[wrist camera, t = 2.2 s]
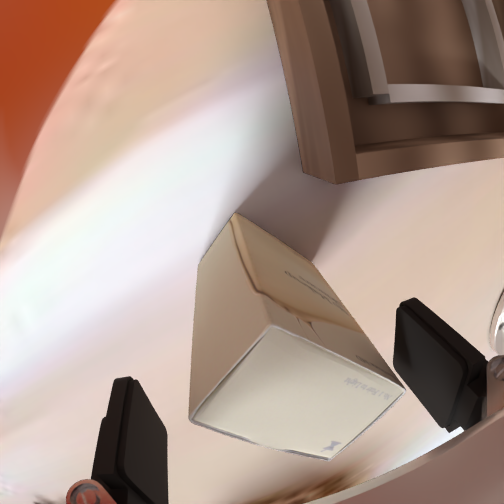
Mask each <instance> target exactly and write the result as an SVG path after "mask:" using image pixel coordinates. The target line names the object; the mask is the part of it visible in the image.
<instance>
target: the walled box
mask: <svg viewBox="0 0 504 504" xmlns="http://www.w3.org/2000/svg"><path fill="white" fill-rule="evenodd" d="M267 4H268V7H269V11H270V15H271V19H272V23H273V27H274V31H275V36H276V40H277V44H278V48H279V53H280V57H281V61H282V66H283V70H284V75H285V80H286V84H287V89H288V94H289V99H290V104H291V109H292V114H293V119H294V124H295V129H296V134H297V140H298V145H299V151H300V157H301V162H302V168H303V173H306V174H309V175H312V176H314V177H317V178H320V179H322V180H325V181H328V182H330V183H333V184H341V183H346V182H352V181H357V180H362V179H368V178H373V177H379V176H385V175H390V174H396V173H402V172H408V171H414V170H420V169H426V168H433V167H439V166H446V165H452V164H459V163H466V162H474V161H481V160H489V159H496V158H504V0H267Z"/></svg>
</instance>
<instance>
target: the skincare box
mask: <svg viewBox="0 0 504 504" xmlns="http://www.w3.org/2000/svg"><path fill="white" fill-rule="evenodd" d="M405 392H406V389H405V388H404V386H403V385H402V383H401V382H400V381H399V379H398V378H397V377H396V375H395V374H394V373H393V371H392V370H391V369H390V367H389V366H388V365H387V363H386V362H385V360H384V359H383V358H382V356H381V355H380V354H379V352H378V351H377V349H376V348H375V347H374V345H373V344H372V342H371V341H370V340H369V338H368V337H367V336H366V334H365V333H364V332H363V330H362V329H361V328H360V326H359V325H358V323H357V322H356V321H355V319H354V318H353V317H352V315H351V314H350V313H349V311H348V310H347V309H346V307H345V306H344V305H343V303H342V302H341V300H340V299H339V298H338V296H337V295H336V294H335V292H334V291H333V290H332V288H331V287H330V286H329V284H328V283H327V282H326V280H325V279H324V278H323V276H322V275H321V274H320V272H319V271H318V270H317V269H316V267H315V266H314V265H313V263H312V262H310V261H309V260H307V259H306V258H304V257H303V256H302V255H300V254H299V253H297V252H296V251H294V250H293V249H292V248H290V247H289V246H287V245H286V244H284V243H283V242H281V241H280V240H278V239H277V238H275V237H274V236H272V235H271V234H269V233H268V232H266V231H265V230H263V229H262V228H260V227H259V226H257V225H255V224H254V223H252V222H251V221H249V220H248V219H246V218H245V217H243V216H242V215H240V214H238V213H234V214H233V216H232V217H231V218H230V220H229V221H228V223H227V224H226V225H225V227H224V228H223V229H222V231H221V232H220V234H219V235H218V236H217V238H216V239H215V241H214V242H213V244H212V245H211V247H210V248H209V250H208V251H207V253H206V254H205V256H204V257H203V259H202V260H201V262H200V263H199V265H198V271H197V283H196V294H195V308H194V323H193V337H192V355H191V375H190V397H189V420H190V422H191V423H193V424H195V425H198V426H201V427H204V428H207V429H210V430H212V431H215V432H218V433H221V434H224V435H227V436H230V437H232V438H236V439H239V440H242V441H246V442H249V443H251V444H254V445H258V446H261V447H265V448H269V449H273V450H277V451H282V452H287V453H291V454H295V455H300V456H305V457H310V458H315V459H320V460H324V461H331V460H332V459H333V458H334V457H336V456H337V455H338V454H339V453H340V452H342V451H343V450H344V449H345V448H347V447H348V446H349V445H350V444H351V443H353V442H354V441H355V440H356V439H357V438H359V437H360V436H361V435H362V434H363V433H364V432H365V431H367V430H368V429H369V428H370V427H371V426H372V425H373V424H374V423H375V422H377V421H378V420H379V419H380V418H381V417H382V416H383V415H384V414H385V413H386V412H387V411H388V410H389V409H390V408H391V407H392V406H393V405H394V404H395V403H396V402H397V401H398V400H399V399H400V398H401V397H402V396H403V395H404V394H405Z"/></svg>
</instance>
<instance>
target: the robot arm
mask: <svg viewBox="0 0 504 504" xmlns="http://www.w3.org/2000/svg"><path fill="white" fill-rule="evenodd" d="M490 344H491V348H492V349H493V350H494V351H495V352H496V353H497V354H498V356H496V357H493V358H492V359H491V360H490V361H489V362H488V361H487V360H486V359H485V356H484V355H483V354H481V353H480V352H479V351H478V350H477V349H476V348H475V347H474V346H472V345H471V344H470V343H469V342H468V341H467V340H466V339H464V338H463V337H462V336H461V335H460V334H459V333H457V332H456V331H455V330H454V329H453V328H452V327H450V326H449V325H448V324H447V323H446V322H445V321H443V320H442V319H441V318H440V317H439V316H437V315H436V314H435V313H434V312H433V311H431V310H430V309H429V308H428V307H427V306H425V305H424V304H423V303H422V302H421V301H419V300H418V299H417V298H411V299H409V300H406V301H403V302H401V303H400V305H399V307H398V308H397V310H396V328H395V343H394V356H393V366H394V368H395V370H396V372H397V373H398V374H399V375H400V377H401V378H402V379H403V380H404V382H405V383H406V384H407V385H408V387H409V388H410V389H411V390H412V392H413V393H414V394H415V395H416V397H417V398H418V399H419V401H420V402H421V403H422V404H423V406H424V407H425V408H426V409H427V411H428V412H429V413H430V415H431V416H432V417H433V418H434V420H435V421H436V422H437V424H438V425H439V426H440V427H441V428H446V430H447V431H448V432H449V433H450V432H452V431H453V430H455V429H457V428H458V427H460V426H461V427H462V428H463V430H464V432H462V433H461V434H459V435H458V436H456V437H454V438H452V439H451V440H449V441H447V442H445V443H444V444H442V445H440V446H438V447H437V448H435V449H433V450H431V451H429V452H428V453H426V454H424V455H422V456H420V457H418V458H416V459H414V460H412V461H410V462H408V463H406V464H404V465H402V466H400V467H398V468H396V469H394V470H392V471H389V472H387V473H385V474H383V475H380V476H378V477H376V478H374V479H371V480H369V481H366V482H364V483H361V484H359V485H356V486H354V487H351V488H349V489H346V490H343V491H340V492H338V493H335V494H332V495H329V496H326V497H323V498H320V499H317V500H314V501H310V502H307V503H304V504H504V292H503V294H502V296H501V299H500V301H499V303H498V306H497V308H496V311H495V314H494V317H493V321H492V325H491V330H490ZM66 504H168V466H167V431H166V428H165V426H164V424H163V423H162V421H161V419H160V418H159V416H158V414H157V413H156V411H155V409H154V408H153V406H152V404H151V403H150V401H149V399H148V397H147V396H146V394H145V392H144V390H143V388H142V387H141V385H140V383H139V381H138V380H133V378H132V377H130V376H129V377H123V378H117V379H115V380H114V382H113V387H112V391H111V396H110V400H109V405H108V410H107V414H106V417H104V418H103V419H102V422H101V426H100V431H99V436H98V441H97V447H96V452H95V458H94V463H93V469H92V476H91V480H90V479H85V480H80V481H78V482H76V483H75V484H74V485H72V486H71V487H70V489H69V490H68V492H67V496H66Z"/></svg>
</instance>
